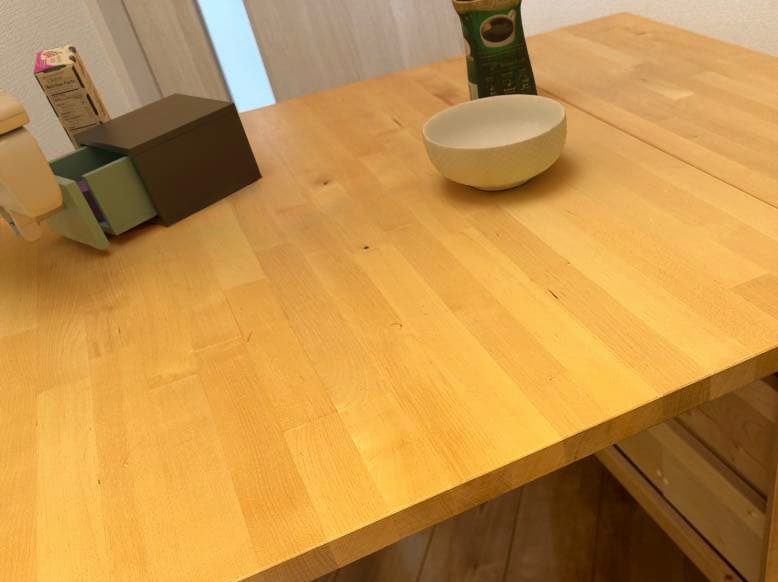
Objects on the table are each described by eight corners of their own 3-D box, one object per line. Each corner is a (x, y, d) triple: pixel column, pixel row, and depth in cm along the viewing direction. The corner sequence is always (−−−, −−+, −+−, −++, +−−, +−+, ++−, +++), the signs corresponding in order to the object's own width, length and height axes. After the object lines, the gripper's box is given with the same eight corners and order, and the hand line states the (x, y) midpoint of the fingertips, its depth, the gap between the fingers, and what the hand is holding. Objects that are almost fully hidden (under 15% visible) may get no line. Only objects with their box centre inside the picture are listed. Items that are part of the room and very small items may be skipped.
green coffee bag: (528, 89, 114) (510, -52, 103) (543, 105, 108) (525, -43, 97) (466, 103, 113) (440, -38, 101) (477, 120, 107) (451, -28, 95)
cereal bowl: (590, 187, 86) (585, 125, 82) (448, 222, 84) (435, 160, 80) (548, 137, 99) (541, 81, 95) (423, 166, 97) (410, 111, 92)
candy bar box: (97, 170, 111) (35, 51, 100) (132, 160, 112) (75, 42, 102) (97, 197, 103) (30, 71, 92) (136, 186, 104) (74, 60, 93)
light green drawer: (62, 270, 85) (23, 204, 80) (14, 249, 91) (-26, 187, 86) (199, 199, 95) (172, 137, 90) (148, 185, 101) (120, 126, 96)
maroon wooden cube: (87, 214, 93) (70, 183, 91) (121, 204, 94) (105, 173, 92) (89, 226, 90) (72, 194, 88) (124, 215, 92) (108, 183, 89)
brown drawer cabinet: (167, 227, 92) (129, 149, 86) (111, 209, 99) (72, 135, 93) (262, 177, 101) (234, 102, 95) (205, 163, 107) (175, 93, 101)
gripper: (-125, 108, 77) (-40, 232, 86) (-39, 132, 66) (47, 270, 75) (-61, 86, 80) (14, 207, 89) (30, 106, 70) (105, 240, 79)
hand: (30, 236), depth 82 cm, fingers closed
